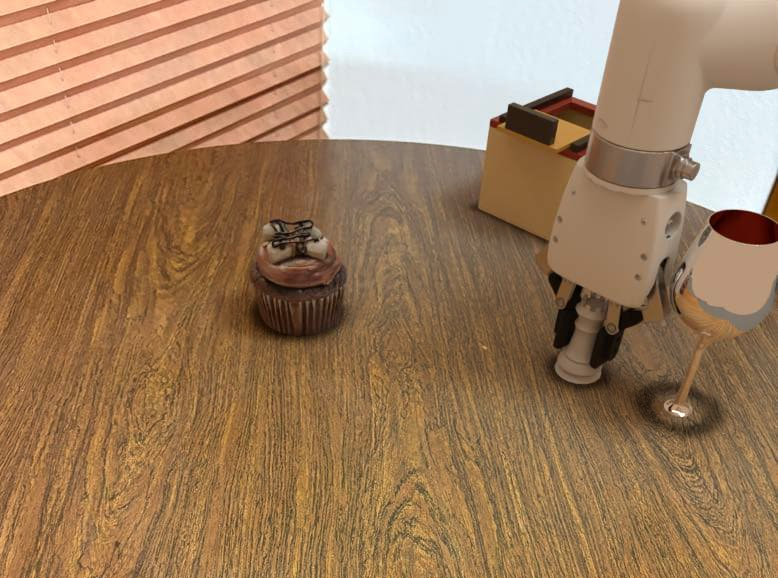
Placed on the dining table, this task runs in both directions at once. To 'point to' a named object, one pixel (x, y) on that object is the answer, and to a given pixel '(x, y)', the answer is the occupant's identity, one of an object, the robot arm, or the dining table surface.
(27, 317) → the dining table surface
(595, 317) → the rook chess piece
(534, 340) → the dining table surface
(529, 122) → the slider
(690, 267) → the wineglass
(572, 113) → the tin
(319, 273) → the cupcake
